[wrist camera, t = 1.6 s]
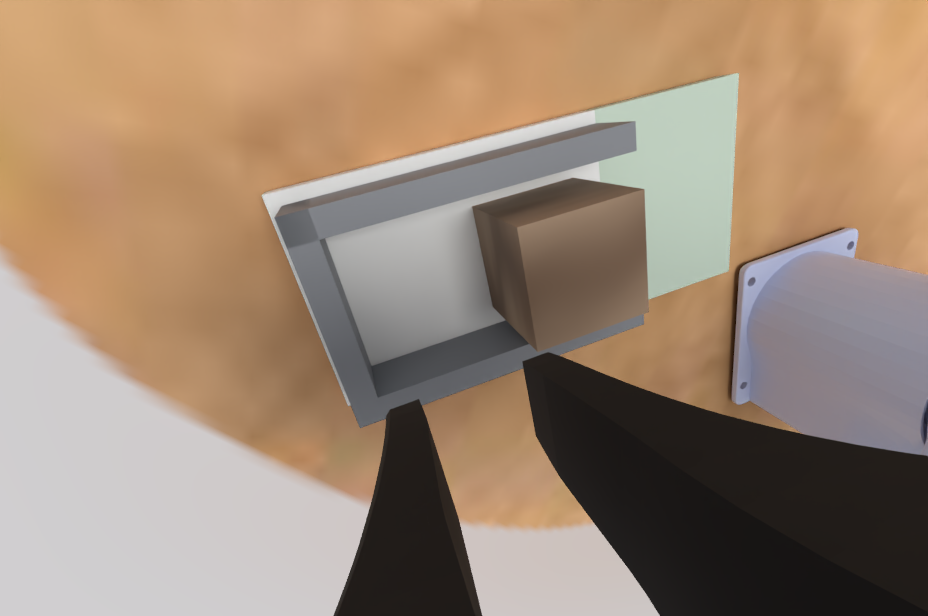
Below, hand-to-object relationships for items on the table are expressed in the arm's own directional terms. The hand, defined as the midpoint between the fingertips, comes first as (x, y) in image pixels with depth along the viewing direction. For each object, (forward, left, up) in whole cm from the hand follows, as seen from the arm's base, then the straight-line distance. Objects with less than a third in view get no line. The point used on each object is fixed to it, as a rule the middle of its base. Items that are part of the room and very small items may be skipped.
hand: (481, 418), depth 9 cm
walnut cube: (0, -6, -9) cm, 11 cm away
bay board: (0, -7, -10) cm, 12 cm away
